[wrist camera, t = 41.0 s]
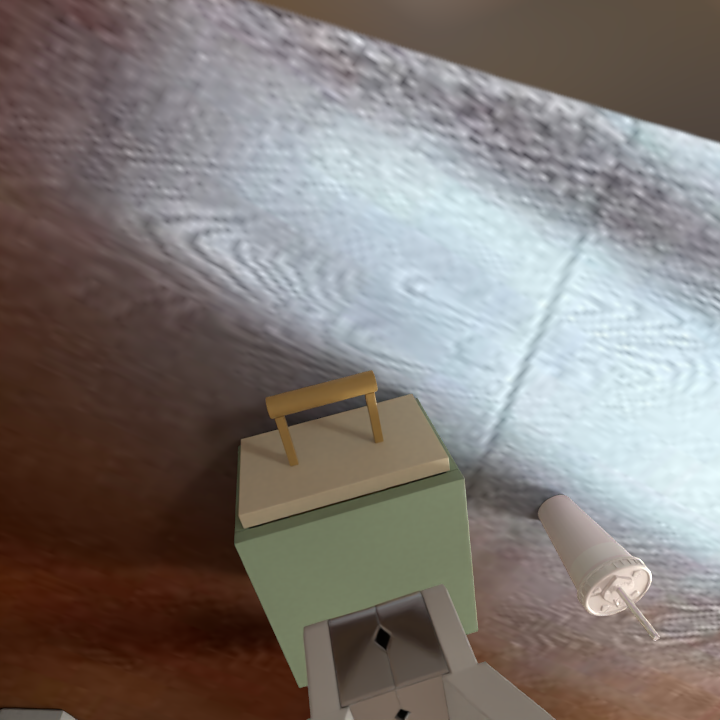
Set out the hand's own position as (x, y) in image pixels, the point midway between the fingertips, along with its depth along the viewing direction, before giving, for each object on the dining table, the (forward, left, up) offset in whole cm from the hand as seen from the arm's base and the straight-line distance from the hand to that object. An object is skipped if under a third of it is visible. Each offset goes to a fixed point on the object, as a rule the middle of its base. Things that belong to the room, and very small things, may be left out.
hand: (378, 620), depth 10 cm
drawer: (+6, -15, -24) cm, 29 cm away
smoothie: (+29, -22, -25) cm, 44 cm away
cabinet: (+7, -20, -25) cm, 33 cm away
